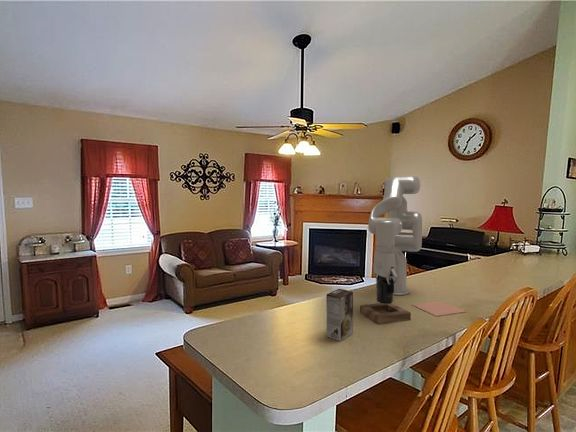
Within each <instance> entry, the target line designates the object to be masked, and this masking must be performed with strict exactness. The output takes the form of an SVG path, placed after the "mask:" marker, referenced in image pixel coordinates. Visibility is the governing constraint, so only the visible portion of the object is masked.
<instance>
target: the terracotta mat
mask: <svg viewBox="0 0 576 432" xmlns="http://www.w3.org/2000/svg"><path fill="white" fill-rule="evenodd" d="M411 306H412V307H415V308H417V309H419V310H421V311H424V313H425V312H426V313H427V312H428V314H429V315H432V316H434V317H443V316H448V315H449V316H450V315H458V314H463V313H464V314H465V313H467V311H466V310H465V309H461V308H459V307H457V306H453V305H452V304H448V303H447V302H444V301H441V300H435V301H426V302H418V303H412V304H411Z"/></svg>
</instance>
